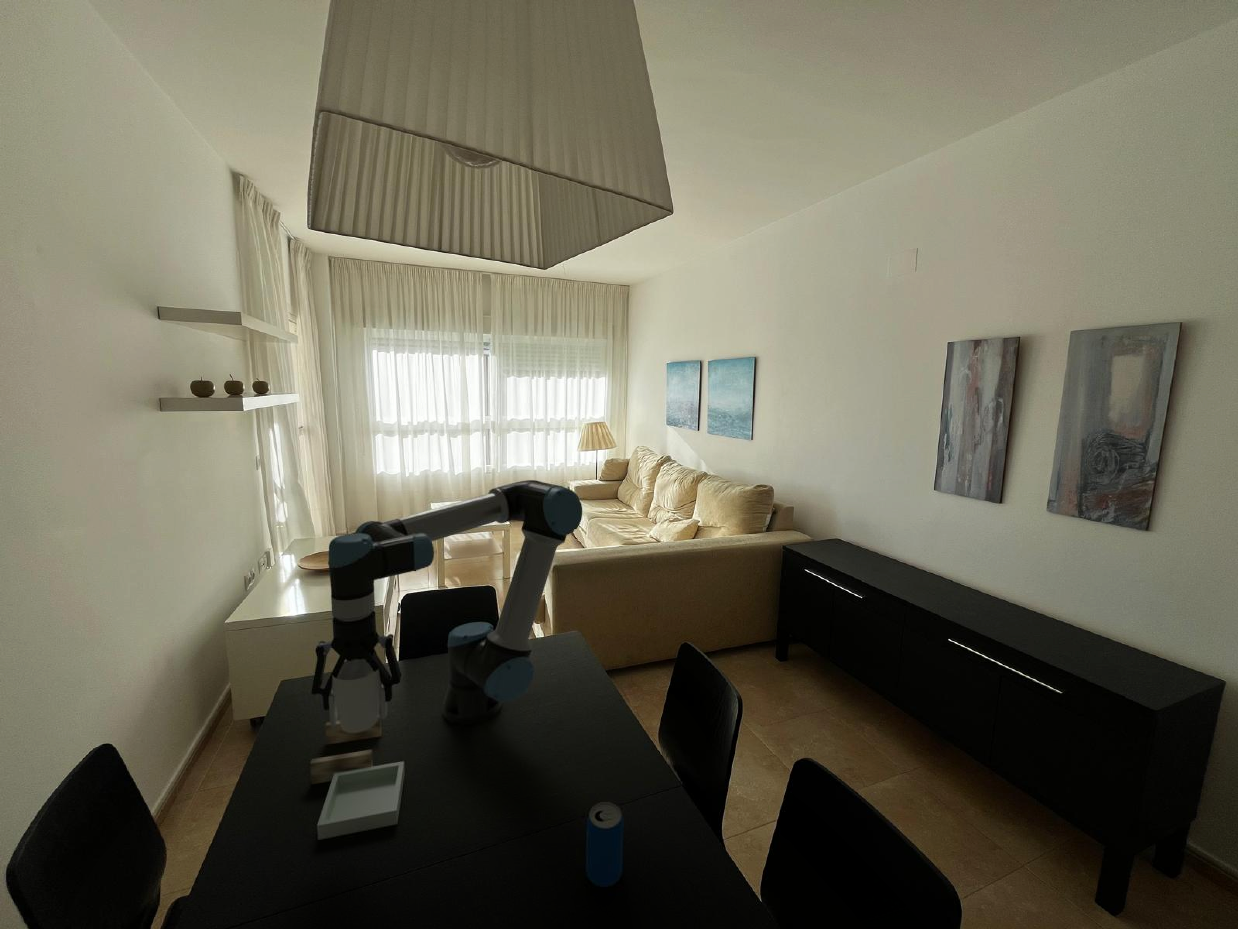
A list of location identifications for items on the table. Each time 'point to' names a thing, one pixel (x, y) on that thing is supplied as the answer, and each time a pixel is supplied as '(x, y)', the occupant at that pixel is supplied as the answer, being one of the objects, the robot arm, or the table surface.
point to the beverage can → (604, 844)
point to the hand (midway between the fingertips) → (359, 719)
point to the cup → (357, 695)
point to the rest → (329, 765)
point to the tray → (362, 800)
